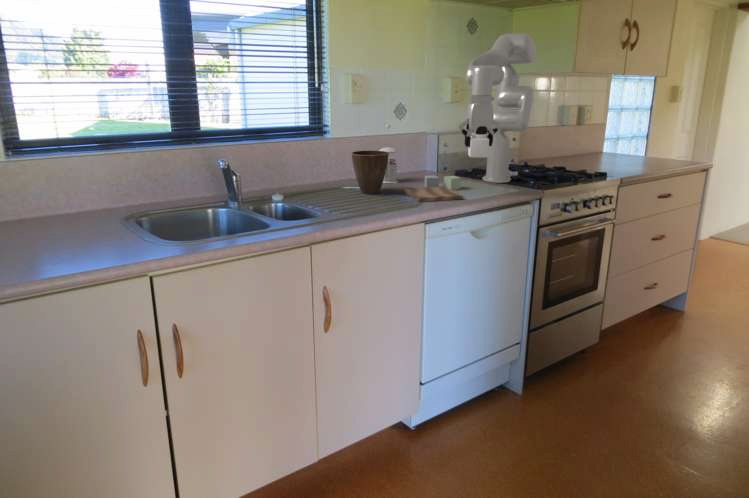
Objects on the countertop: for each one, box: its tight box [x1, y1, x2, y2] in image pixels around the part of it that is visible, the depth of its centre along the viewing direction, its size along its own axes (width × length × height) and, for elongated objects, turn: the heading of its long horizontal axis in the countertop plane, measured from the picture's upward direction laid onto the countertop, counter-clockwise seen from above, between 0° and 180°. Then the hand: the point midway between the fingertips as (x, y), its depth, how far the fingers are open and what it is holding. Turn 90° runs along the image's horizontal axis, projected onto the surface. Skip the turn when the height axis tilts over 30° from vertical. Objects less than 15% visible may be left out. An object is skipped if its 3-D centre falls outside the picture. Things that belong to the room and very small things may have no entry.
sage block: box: [443, 175, 462, 191], centre depth 220 cm, size 5×5×5 cm
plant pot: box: [351, 150, 390, 195], centre depth 211 cm, size 15×15×16 cm
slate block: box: [424, 175, 440, 188], centre depth 220 cm, size 5×5×5 cm
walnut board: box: [403, 186, 464, 203], centre depth 207 cm, size 18×18×2 cm
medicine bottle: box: [467, 126, 489, 159], centre depth 204 cm, size 7×7×12 cm
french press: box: [378, 124, 399, 184], centre depth 230 cm, size 10×12×25 cm
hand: (478, 146), depth 205 cm, fingers closed on medicine bottle, 8 cm apart
